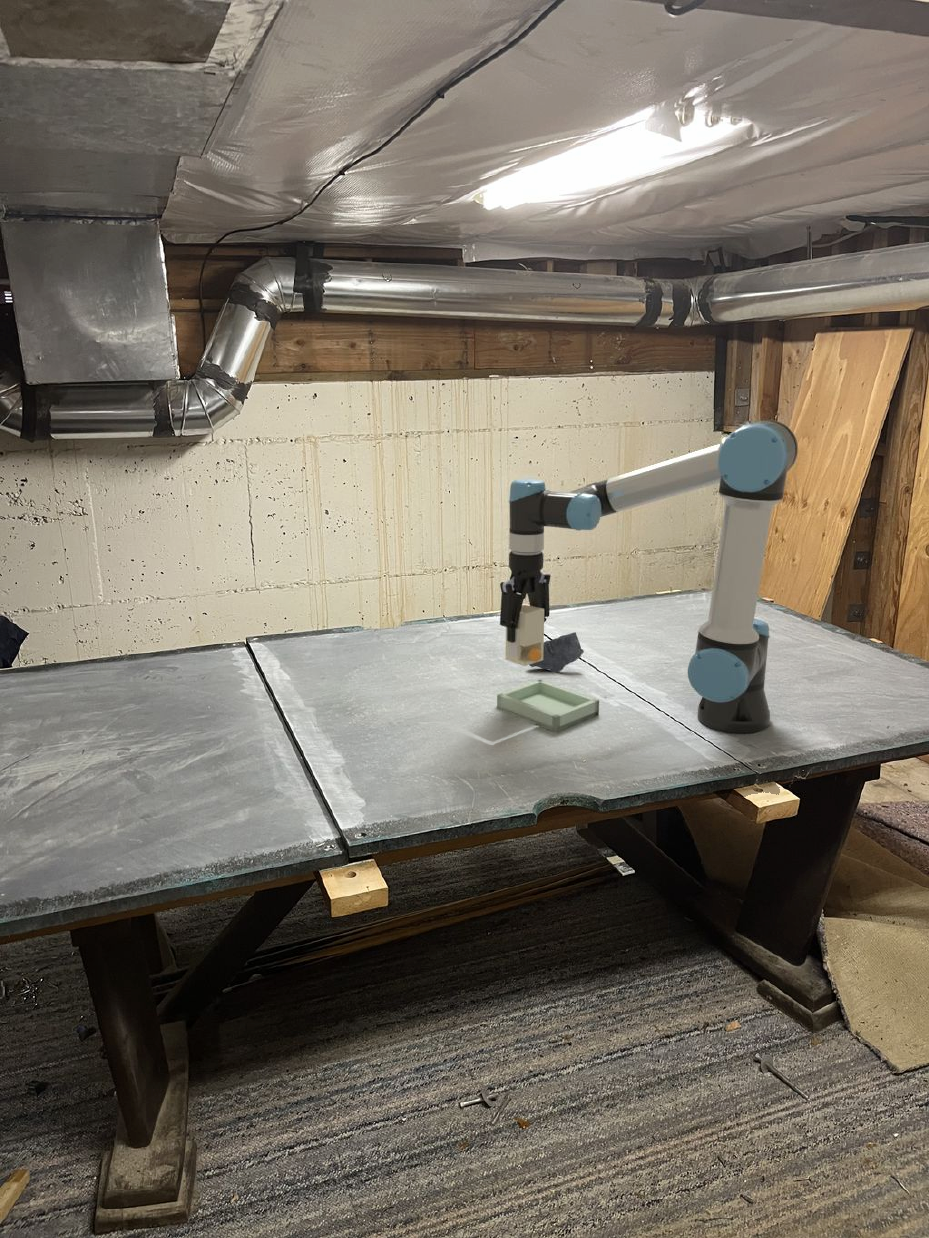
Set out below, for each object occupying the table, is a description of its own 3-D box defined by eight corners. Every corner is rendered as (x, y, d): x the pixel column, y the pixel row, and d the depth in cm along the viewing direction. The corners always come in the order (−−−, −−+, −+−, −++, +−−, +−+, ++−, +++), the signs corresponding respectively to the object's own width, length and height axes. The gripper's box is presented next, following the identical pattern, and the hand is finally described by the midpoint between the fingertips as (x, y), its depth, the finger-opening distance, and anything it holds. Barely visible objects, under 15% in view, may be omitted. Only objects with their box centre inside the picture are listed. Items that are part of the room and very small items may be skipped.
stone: (535, 679, 222) (536, 640, 219) (524, 671, 227) (525, 633, 224) (584, 671, 227) (585, 633, 224) (573, 663, 232) (573, 627, 229)
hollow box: (543, 660, 202) (544, 608, 198) (524, 666, 198) (525, 614, 195) (524, 653, 206) (524, 603, 203) (505, 659, 202) (506, 608, 199)
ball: (534, 651, 201) (538, 663, 200) (523, 652, 199) (527, 664, 198) (541, 645, 199) (546, 657, 198) (531, 646, 197) (535, 658, 196)
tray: (598, 714, 199) (599, 700, 198) (556, 732, 191) (556, 717, 190) (539, 693, 212) (539, 679, 211) (497, 709, 203) (497, 694, 202)
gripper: (543, 542, 204) (541, 639, 210) (482, 555, 191) (482, 657, 198) (568, 547, 198) (565, 646, 205) (507, 560, 186) (506, 665, 193)
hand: (524, 651), depth 201 cm, fingers closed on hollow box, 6 cm apart
